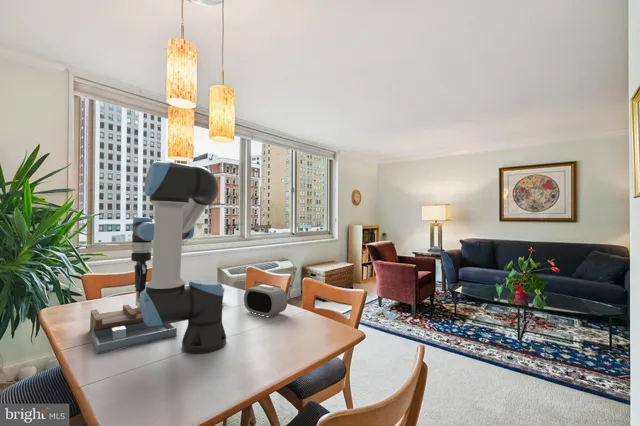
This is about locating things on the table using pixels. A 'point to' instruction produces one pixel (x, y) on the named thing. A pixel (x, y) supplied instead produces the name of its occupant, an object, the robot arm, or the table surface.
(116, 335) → the left block
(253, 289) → the alarm clock
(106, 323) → the slot board
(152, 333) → the tray
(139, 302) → the right block
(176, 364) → the table surface
